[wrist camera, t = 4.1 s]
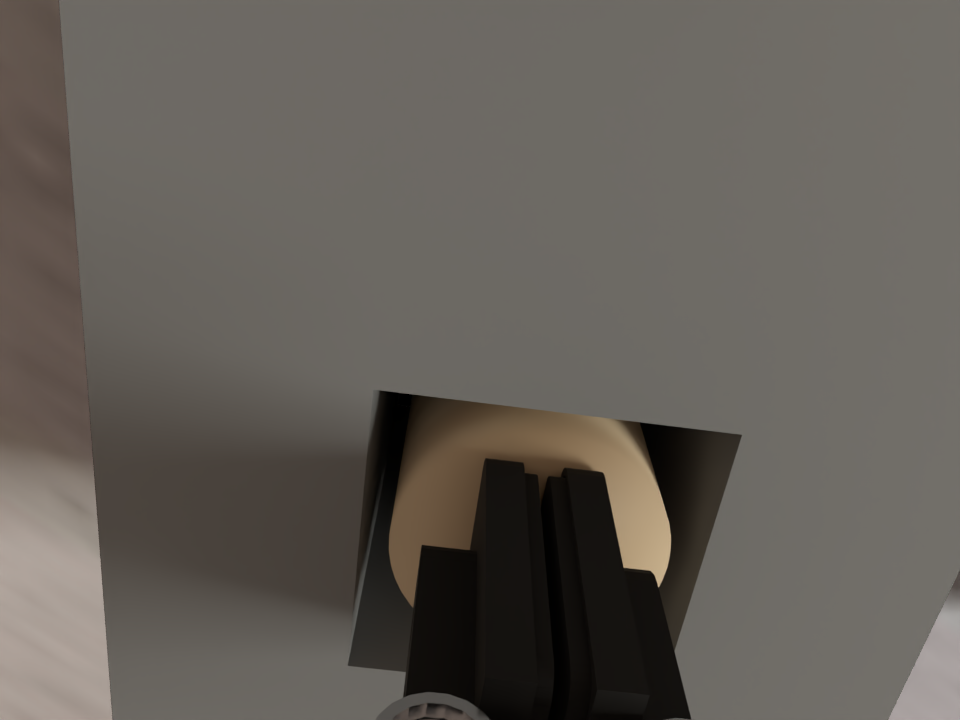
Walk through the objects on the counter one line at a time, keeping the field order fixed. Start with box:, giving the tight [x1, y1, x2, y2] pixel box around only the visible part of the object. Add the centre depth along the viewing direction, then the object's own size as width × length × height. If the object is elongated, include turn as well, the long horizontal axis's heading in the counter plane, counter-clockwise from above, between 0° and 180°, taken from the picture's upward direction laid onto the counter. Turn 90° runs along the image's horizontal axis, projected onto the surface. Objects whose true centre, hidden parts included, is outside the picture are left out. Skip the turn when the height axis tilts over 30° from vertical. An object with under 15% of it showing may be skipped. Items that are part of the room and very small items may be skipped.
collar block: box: [59, 0, 960, 720], centre depth 14 cm, size 12×22×8 cm, turn 172°
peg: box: [389, 394, 671, 607], centre depth 16 cm, size 4×4×7 cm
